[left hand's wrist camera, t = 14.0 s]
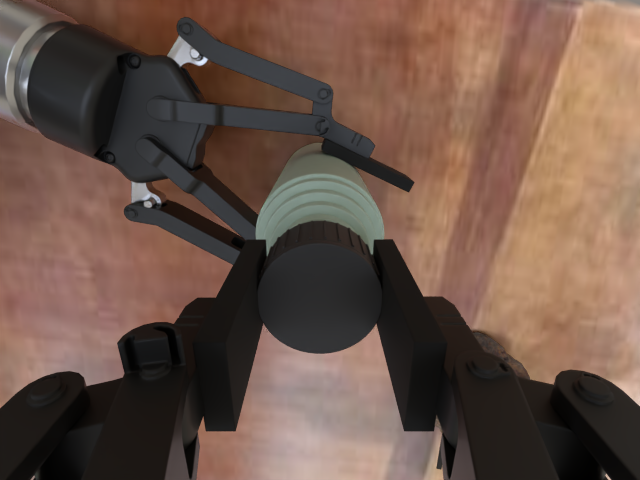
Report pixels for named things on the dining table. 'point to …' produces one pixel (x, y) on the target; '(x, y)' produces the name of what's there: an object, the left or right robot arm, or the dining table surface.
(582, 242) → the dining table surface
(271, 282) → the cap
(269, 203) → the bottle
